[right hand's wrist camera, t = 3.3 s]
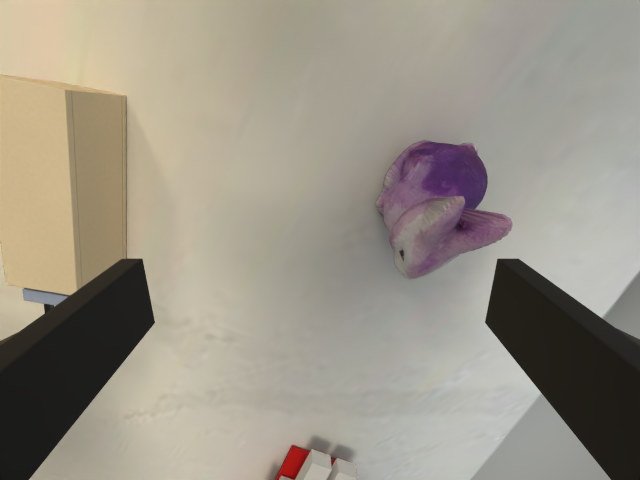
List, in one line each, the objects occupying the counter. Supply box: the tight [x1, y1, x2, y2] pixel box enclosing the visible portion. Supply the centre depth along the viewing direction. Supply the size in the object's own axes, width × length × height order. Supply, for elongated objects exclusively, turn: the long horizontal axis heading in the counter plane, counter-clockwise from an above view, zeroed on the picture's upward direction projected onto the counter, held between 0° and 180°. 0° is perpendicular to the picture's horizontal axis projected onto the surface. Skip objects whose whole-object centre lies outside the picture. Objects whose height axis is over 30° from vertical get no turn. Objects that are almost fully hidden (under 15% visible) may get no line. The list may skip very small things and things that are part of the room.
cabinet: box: [0, 75, 126, 295], centre depth 31 cm, size 17×6×8 cm, turn 169°
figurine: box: [376, 140, 512, 279], centre depth 28 cm, size 9×10×15 cm
